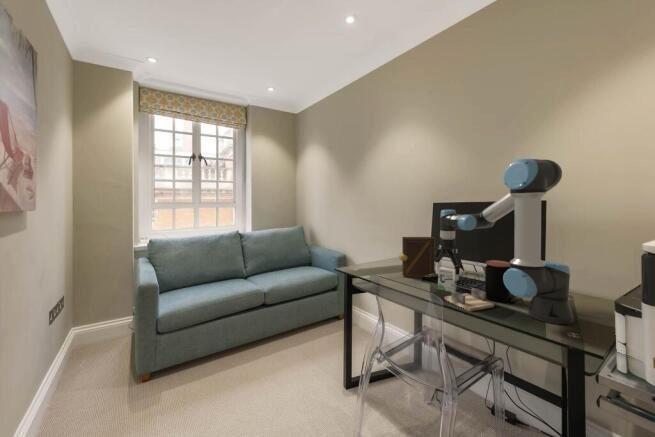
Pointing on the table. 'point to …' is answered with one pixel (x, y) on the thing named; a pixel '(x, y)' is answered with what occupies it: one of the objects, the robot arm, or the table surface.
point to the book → (417, 256)
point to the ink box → (446, 279)
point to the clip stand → (470, 300)
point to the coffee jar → (496, 281)
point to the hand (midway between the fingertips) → (446, 276)
